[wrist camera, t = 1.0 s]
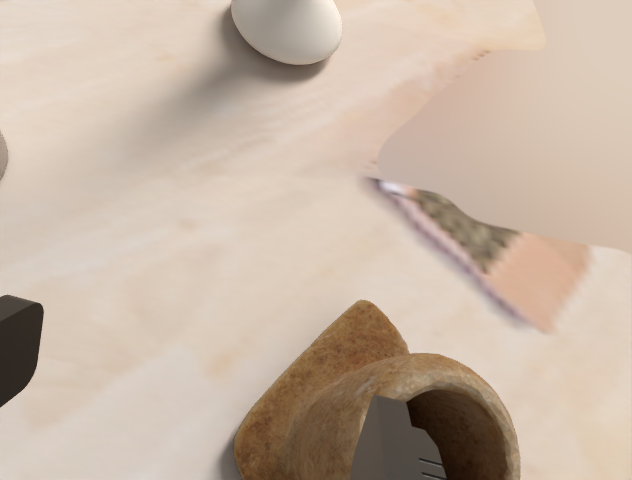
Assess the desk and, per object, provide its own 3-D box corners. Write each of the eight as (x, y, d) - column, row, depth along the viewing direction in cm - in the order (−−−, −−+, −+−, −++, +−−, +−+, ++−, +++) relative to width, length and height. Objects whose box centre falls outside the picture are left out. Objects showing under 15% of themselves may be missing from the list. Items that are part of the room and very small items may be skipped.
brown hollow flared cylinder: (326, 587, 31) (451, 684, 18) (206, 443, 32) (238, 433, 19) (454, 414, 38) (610, 392, 25) (352, 302, 39) (449, 225, 26)
